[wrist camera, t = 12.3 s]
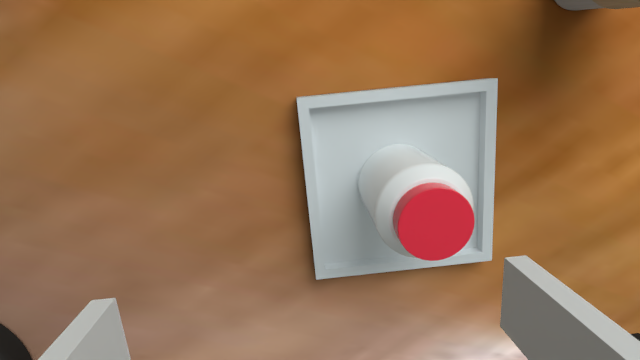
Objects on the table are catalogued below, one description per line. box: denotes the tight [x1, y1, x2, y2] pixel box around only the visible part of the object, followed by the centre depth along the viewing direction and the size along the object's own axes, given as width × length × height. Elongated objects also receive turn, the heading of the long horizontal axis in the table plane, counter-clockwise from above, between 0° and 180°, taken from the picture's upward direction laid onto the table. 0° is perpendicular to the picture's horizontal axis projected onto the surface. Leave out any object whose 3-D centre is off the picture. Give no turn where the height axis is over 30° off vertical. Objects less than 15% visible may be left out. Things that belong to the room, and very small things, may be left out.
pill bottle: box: [358, 144, 475, 261], centre depth 32 cm, size 8×8×11 cm
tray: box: [297, 78, 498, 280], centre depth 37 cm, size 18×18×2 cm
